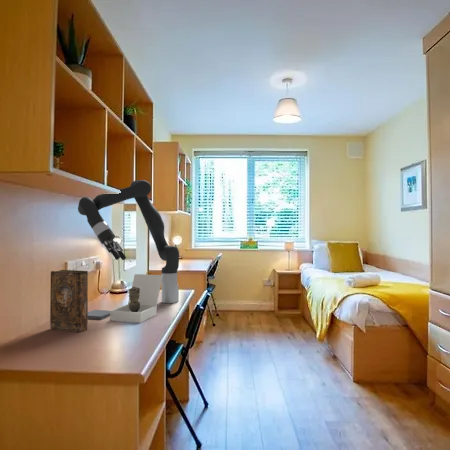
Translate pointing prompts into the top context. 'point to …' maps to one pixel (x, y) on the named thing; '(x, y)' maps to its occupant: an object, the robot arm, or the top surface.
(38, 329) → the top surface
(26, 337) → the top surface
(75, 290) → the book
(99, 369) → the top surface
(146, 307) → the box
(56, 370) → the top surface
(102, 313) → the mat
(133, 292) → the twisted stone column
